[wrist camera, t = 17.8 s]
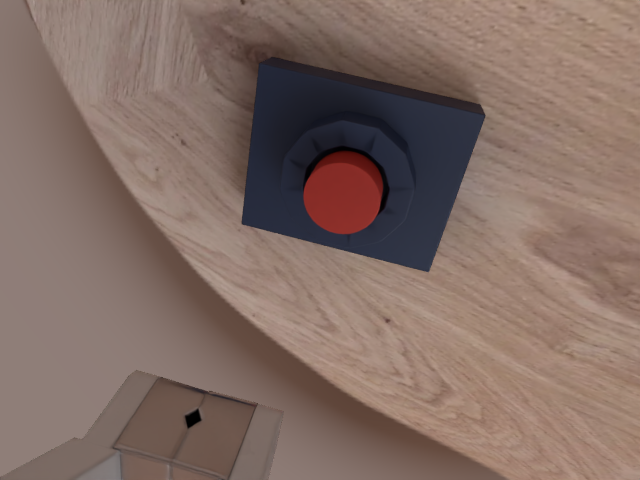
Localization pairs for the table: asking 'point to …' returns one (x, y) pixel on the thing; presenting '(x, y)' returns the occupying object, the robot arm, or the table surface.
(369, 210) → the button
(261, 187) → the control block
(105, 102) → the table surface
